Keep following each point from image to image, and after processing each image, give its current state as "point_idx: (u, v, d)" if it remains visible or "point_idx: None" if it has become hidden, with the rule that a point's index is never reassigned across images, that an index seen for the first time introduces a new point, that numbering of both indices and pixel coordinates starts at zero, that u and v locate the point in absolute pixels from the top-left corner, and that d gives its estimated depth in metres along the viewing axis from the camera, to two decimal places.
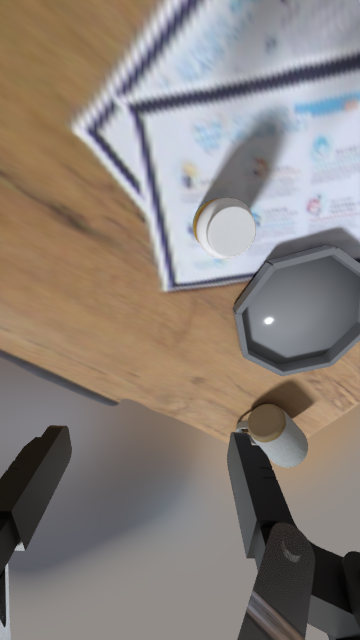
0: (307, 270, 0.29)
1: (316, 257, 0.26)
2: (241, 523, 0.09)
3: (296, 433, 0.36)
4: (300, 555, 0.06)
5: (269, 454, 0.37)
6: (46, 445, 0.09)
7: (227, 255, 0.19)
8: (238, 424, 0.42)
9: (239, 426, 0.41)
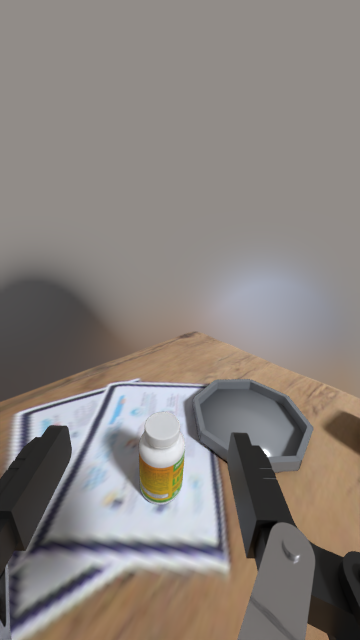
0: (210, 415, 0.39)
1: (199, 406, 0.38)
2: (241, 523, 0.09)
3: None
4: (300, 555, 0.06)
5: None
6: (46, 445, 0.09)
7: (177, 429, 0.25)
8: None
9: None
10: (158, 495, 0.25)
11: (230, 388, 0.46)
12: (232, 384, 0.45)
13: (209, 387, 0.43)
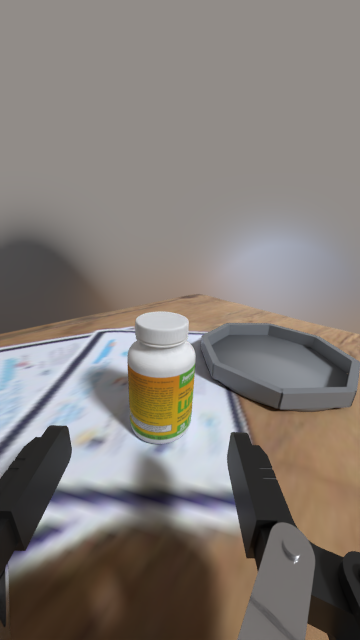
0: (223, 355, 0.30)
1: (208, 343, 0.30)
2: (241, 523, 0.09)
3: None
4: (300, 555, 0.06)
5: None
6: (46, 445, 0.09)
7: (185, 323, 0.16)
8: None
9: None
10: (156, 427, 0.17)
11: (245, 333, 0.37)
12: (247, 328, 0.37)
13: (220, 328, 0.35)
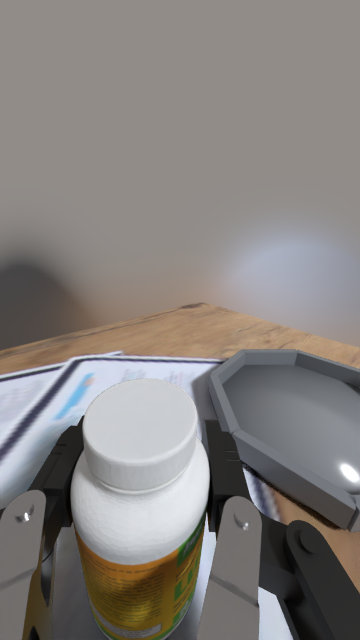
0: (240, 403, 0.22)
1: (221, 387, 0.21)
2: None
3: None
4: (248, 523, 0.07)
5: None
6: None
7: (191, 424, 0.07)
8: None
9: None
10: (130, 631, 0.08)
11: (265, 363, 0.29)
12: (268, 356, 0.28)
13: (233, 359, 0.26)
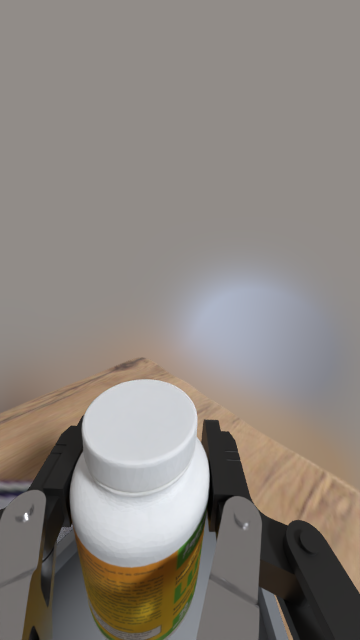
0: (68, 612, 0.17)
1: None
2: None
3: None
4: (248, 523, 0.07)
5: None
6: None
7: (191, 425, 0.07)
8: None
9: None
10: (130, 634, 0.08)
11: None
12: None
13: None
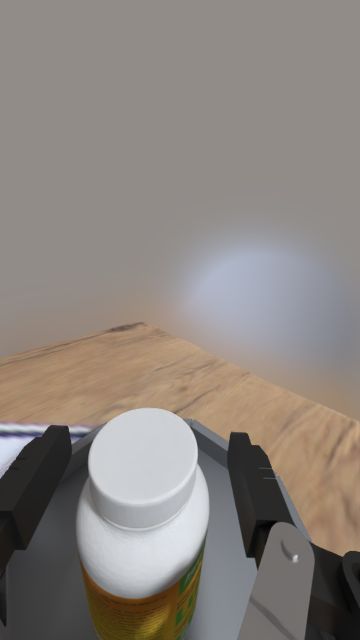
0: (33, 555, 0.12)
1: None
2: (241, 523, 0.09)
3: None
4: (299, 554, 0.06)
5: None
6: (46, 445, 0.09)
7: (192, 459, 0.08)
8: None
9: None
10: None
11: None
12: None
13: (76, 447, 0.17)
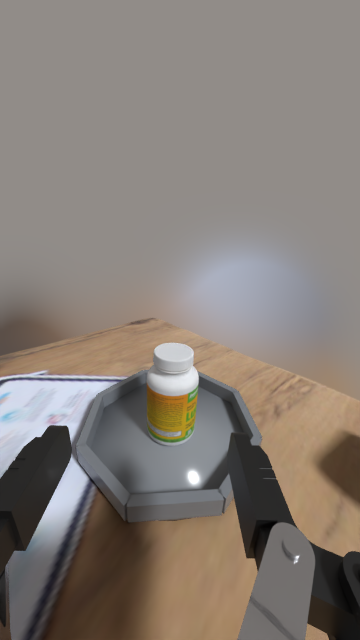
0: (116, 419, 0.26)
1: (97, 407, 0.25)
2: (241, 523, 0.09)
3: None
4: (300, 555, 0.06)
5: None
6: (46, 445, 0.09)
7: (191, 354, 0.22)
8: None
9: None
10: (170, 433, 0.22)
11: None
12: None
13: (128, 380, 0.30)
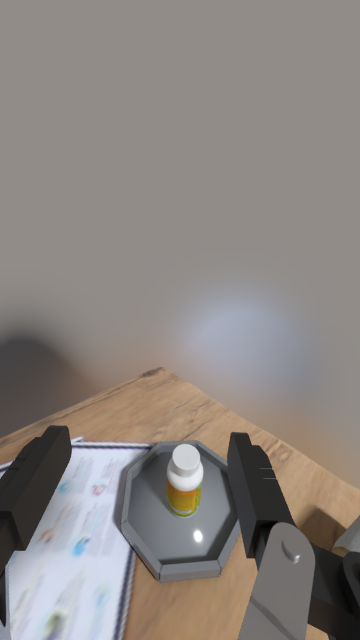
0: (143, 492, 0.36)
1: (129, 484, 0.35)
2: (241, 523, 0.09)
3: (351, 529, 0.28)
4: (300, 555, 0.06)
5: None
6: (46, 445, 0.09)
7: (198, 459, 0.31)
8: None
9: None
10: (184, 511, 0.32)
11: None
12: None
13: (149, 454, 0.40)
